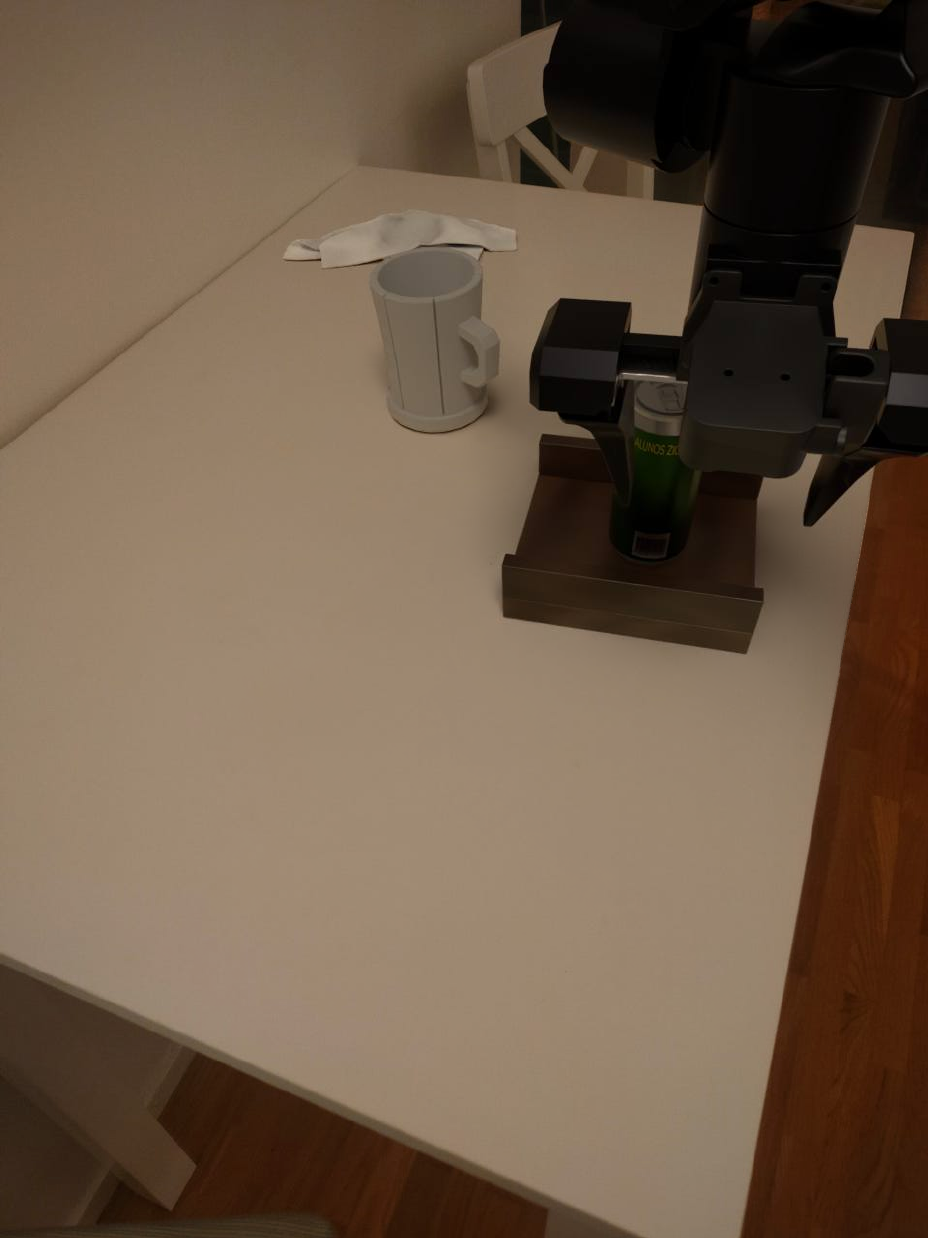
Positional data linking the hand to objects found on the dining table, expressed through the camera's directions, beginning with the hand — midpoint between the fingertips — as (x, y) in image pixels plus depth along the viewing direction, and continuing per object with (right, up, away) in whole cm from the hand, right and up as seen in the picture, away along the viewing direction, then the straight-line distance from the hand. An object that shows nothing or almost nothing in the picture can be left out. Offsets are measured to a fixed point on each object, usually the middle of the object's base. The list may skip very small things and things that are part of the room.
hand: (714, 511), depth 43 cm
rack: (-1, -2, +15) cm, 15 cm away
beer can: (-1, 0, +14) cm, 14 cm away
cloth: (-20, +37, +50) cm, 66 cm away
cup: (-15, +13, +29) cm, 35 cm away
